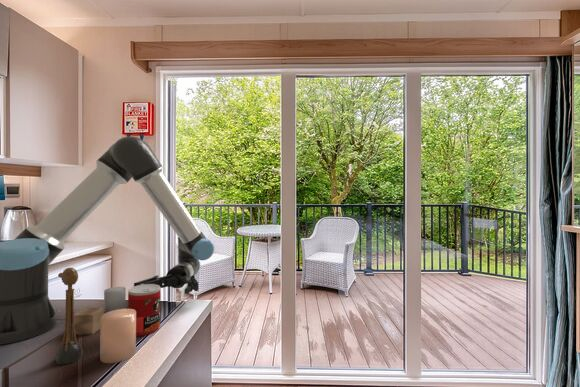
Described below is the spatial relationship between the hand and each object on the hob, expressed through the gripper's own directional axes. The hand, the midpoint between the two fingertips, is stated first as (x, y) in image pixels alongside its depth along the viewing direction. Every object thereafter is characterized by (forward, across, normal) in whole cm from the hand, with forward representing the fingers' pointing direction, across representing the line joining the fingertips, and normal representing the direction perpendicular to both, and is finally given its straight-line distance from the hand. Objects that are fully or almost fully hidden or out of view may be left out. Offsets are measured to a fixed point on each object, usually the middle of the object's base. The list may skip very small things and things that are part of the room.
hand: (156, 295), depth 86 cm
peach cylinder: (+20, 0, -6) cm, 21 cm away
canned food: (+8, 0, -7) cm, 10 cm away
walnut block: (+7, +15, -6) cm, 18 cm away
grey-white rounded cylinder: (-4, +14, -6) cm, 16 cm away
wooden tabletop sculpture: (+21, +11, -7) cm, 24 cm away
